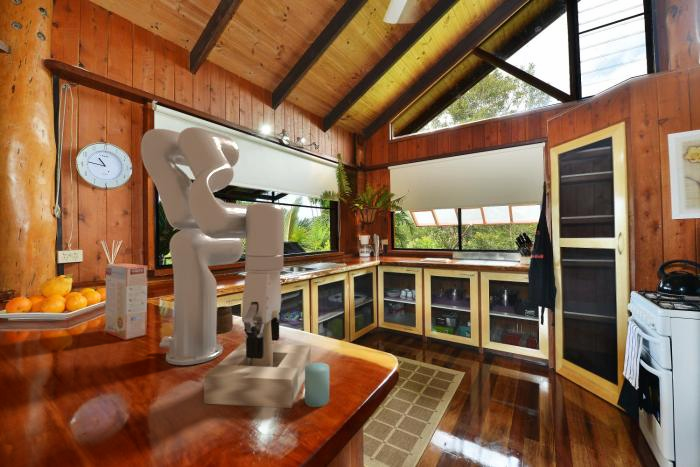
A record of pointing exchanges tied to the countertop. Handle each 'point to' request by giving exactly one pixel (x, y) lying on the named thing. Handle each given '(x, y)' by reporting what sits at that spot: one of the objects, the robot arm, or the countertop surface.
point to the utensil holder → (224, 319)
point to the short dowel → (317, 384)
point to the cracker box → (126, 300)
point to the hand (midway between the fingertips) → (263, 348)
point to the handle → (266, 344)
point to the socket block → (258, 378)
